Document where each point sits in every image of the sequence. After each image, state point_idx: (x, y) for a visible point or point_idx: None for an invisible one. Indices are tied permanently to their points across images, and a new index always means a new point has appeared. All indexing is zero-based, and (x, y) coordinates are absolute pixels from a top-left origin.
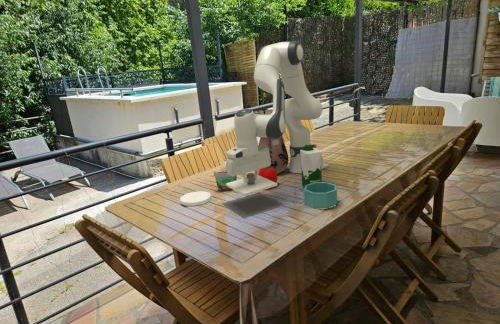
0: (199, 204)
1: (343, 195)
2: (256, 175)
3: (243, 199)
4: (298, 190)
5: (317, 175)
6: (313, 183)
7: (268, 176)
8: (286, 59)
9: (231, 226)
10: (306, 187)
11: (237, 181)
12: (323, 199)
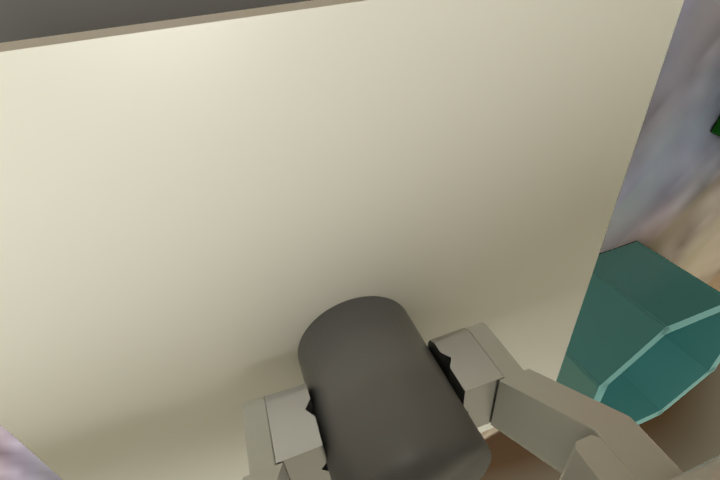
0: None
1: (701, 269)
2: (500, 428)
3: (232, 8)
4: (695, 84)
5: None
6: (709, 315)
7: None
8: None
9: (16, 455)
10: (636, 359)
11: (145, 143)
12: None
